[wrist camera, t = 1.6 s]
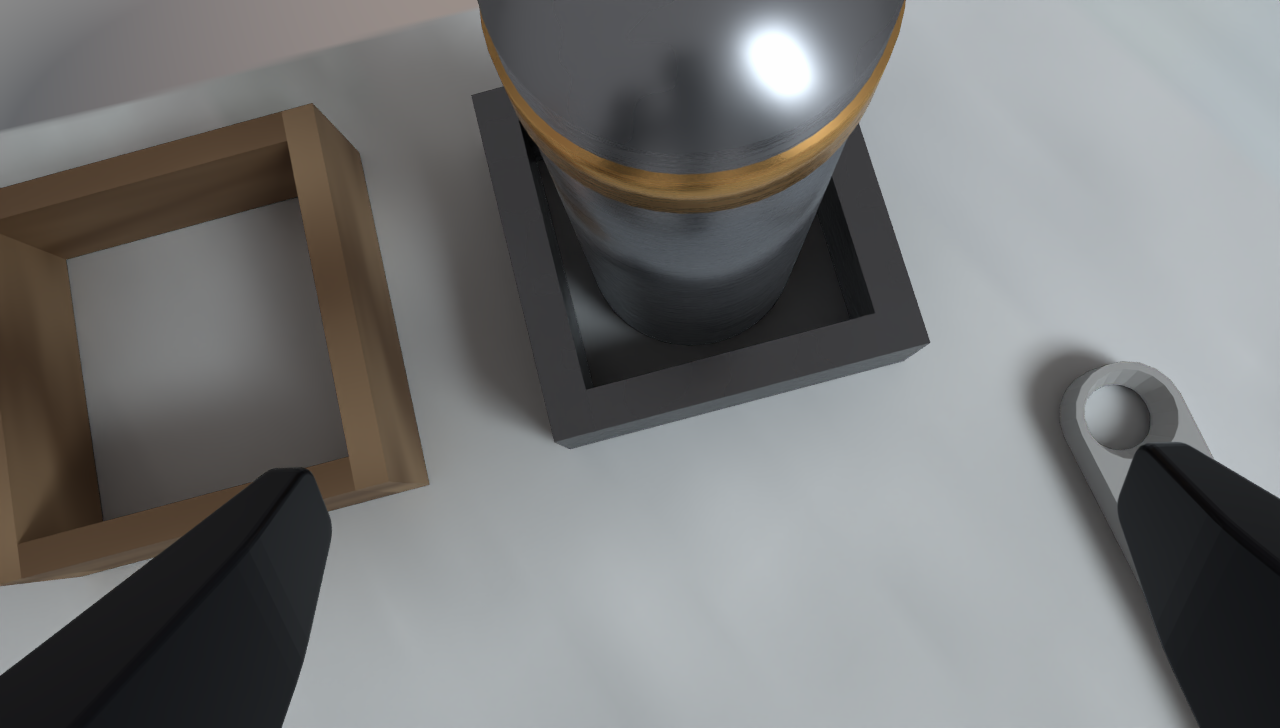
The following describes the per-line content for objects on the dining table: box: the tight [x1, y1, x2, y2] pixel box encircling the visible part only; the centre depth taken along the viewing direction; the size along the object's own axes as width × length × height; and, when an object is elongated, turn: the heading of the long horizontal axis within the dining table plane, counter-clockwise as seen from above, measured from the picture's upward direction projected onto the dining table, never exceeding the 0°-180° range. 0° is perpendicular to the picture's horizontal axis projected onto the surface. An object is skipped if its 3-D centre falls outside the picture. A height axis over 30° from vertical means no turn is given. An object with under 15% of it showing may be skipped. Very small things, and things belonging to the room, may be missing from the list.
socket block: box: [471, 87, 930, 449], centre depth 22 cm, size 9×9×2 cm
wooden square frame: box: [0, 103, 429, 586], centre depth 22 cm, size 10×10×3 cm
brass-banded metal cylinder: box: [478, 0, 906, 345], centre depth 17 cm, size 6×6×12 cm
